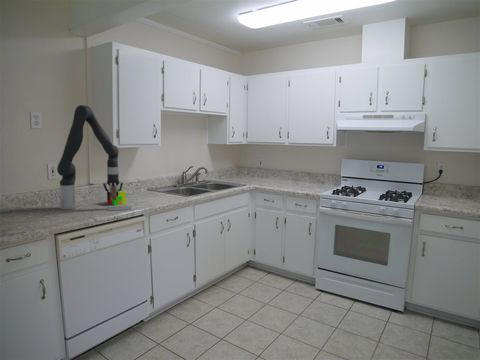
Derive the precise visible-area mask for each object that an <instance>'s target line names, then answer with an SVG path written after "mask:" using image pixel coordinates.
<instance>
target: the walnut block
mask: <svg viewBox="0 0 480 360" xmlns="http://www.w3.org/2000/svg"><path fill="white" fill-rule="evenodd" d="M109 187H110V186H109ZM116 192H117V191H116V187H115V186H111V187H110V199H111V200H117V197H116Z"/></svg>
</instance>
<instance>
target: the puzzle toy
mask: <svg viewBox="0 0 480 360" xmlns="http://www.w3.org/2000/svg"><path fill="white" fill-rule="evenodd" d="M126 193H127V191H126V190H123V189H121V191H119V192H118V194H119V195H118V197H117V200H111V199H110V196H109V193H108V191H106V194H107V195H106V198H107V201H106V202H107V205H110V204H111V206H113V207H114V206H120V205H121V206H122V205H126V204H127V194H126Z"/></svg>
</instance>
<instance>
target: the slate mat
mask: <svg viewBox="0 0 480 360" xmlns="http://www.w3.org/2000/svg"><path fill="white" fill-rule="evenodd" d="M131 210H132V205H121V206H120V205H115V206H114V205H113V206H108V208H107V212H113V211H114V212H115V211H131Z"/></svg>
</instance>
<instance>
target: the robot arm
mask: <svg viewBox="0 0 480 360" xmlns="http://www.w3.org/2000/svg"><path fill="white" fill-rule="evenodd" d="M85 123H87V124H88V125H89V126H90V129H91V130H92V132H93V134H94V136H95V138H96V139H97V140H98V141H99V144H101V146H102V148H103V150H104V151H105V153H106V154H107V155H108V157H107V158H108V159H107V161H106V162H107V163H106V164H107V169H106V170H107V171H106V173H107V179H106V180H107V181H106V182H103V183H102V185H103V188H104V190H105V192H107V191H108V193H109V196H110V187H111V186H115V187H116V191H117V192H116V197H118V195H119V194H118V192H119V191H121V190H122V188H123V185H124V182H120V180H119V173H120V171H119V165H118V164H119V161H118V159H119V147H118V146H116V145H114V144H113V143H112V142H111V138H110V136H109V135H108V134H107V132H106V131H105V130H104V129H103V127H102V126H101V125H100V123H99V121H98V120H97V117H96V116H95V114H94V112H93V110H92V108H91V107H90V106H88V105H84V104H81V105H80V104H79V105H77V106H76V108H75V109H74V114H73V121H72V123H71V127H70V129H69V133H68V136H67V138H66V143H65V145H64V149H63V152H62V155H61V158H60V160H59V162H58V164H57V167H56V170H57V173H58V175H60V176H62V177H61V179H60V181H59V187H60V188H59V189H60V191H59V193H60V196H59V205H60V207H59V208H60V210H64V211H65V210H67V211H69V210H73V209H76V207H77V205H76V188H75V187H76V186H75V185H76V184H75V183H76V179H77V178H76V173H77V172H76V166H75V165H74V163H73V160H74V157H75V156H76V154H77V153H78V152H79V150H80V149H81V146H82V143H83V140H84V125H85ZM107 185H108V186H109V187H107ZM118 186H119V187H118Z"/></svg>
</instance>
